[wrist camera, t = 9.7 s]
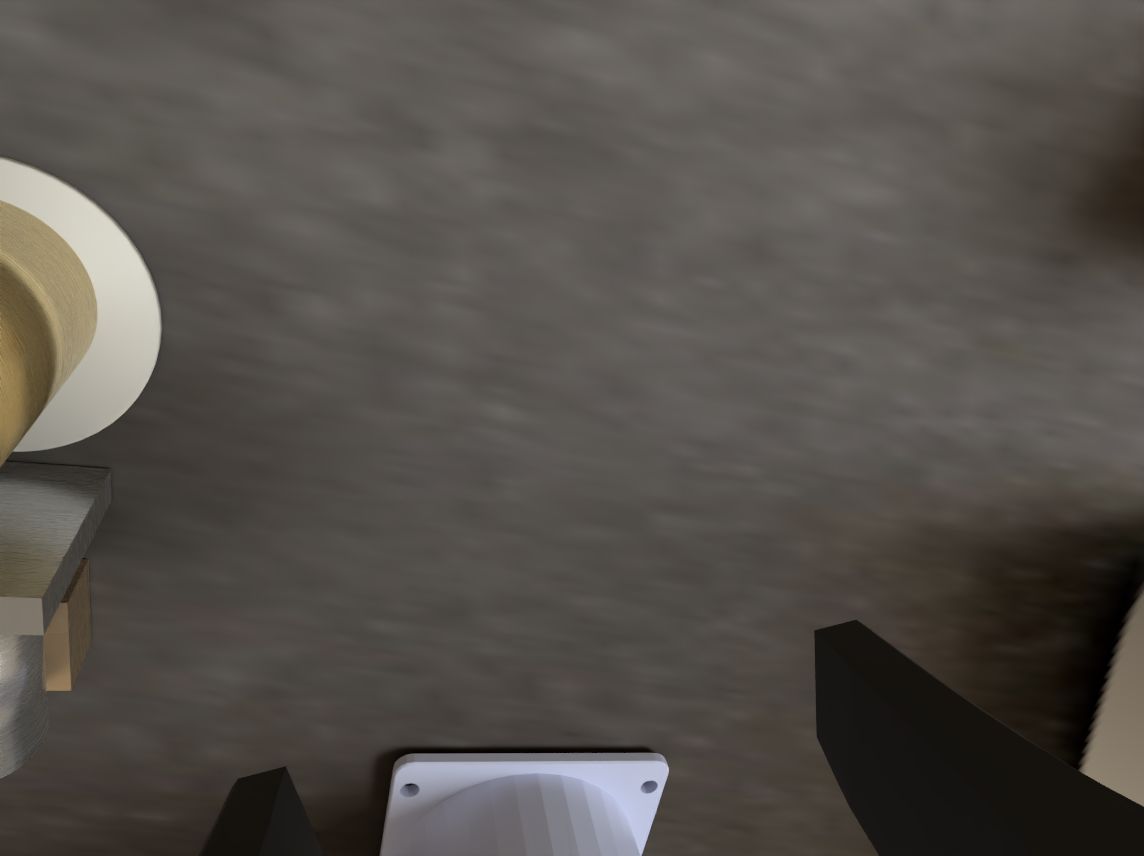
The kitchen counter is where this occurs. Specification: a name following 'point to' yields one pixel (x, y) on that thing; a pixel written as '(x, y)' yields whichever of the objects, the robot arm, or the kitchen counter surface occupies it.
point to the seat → (122, 308)
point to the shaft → (43, 592)
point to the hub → (38, 320)
